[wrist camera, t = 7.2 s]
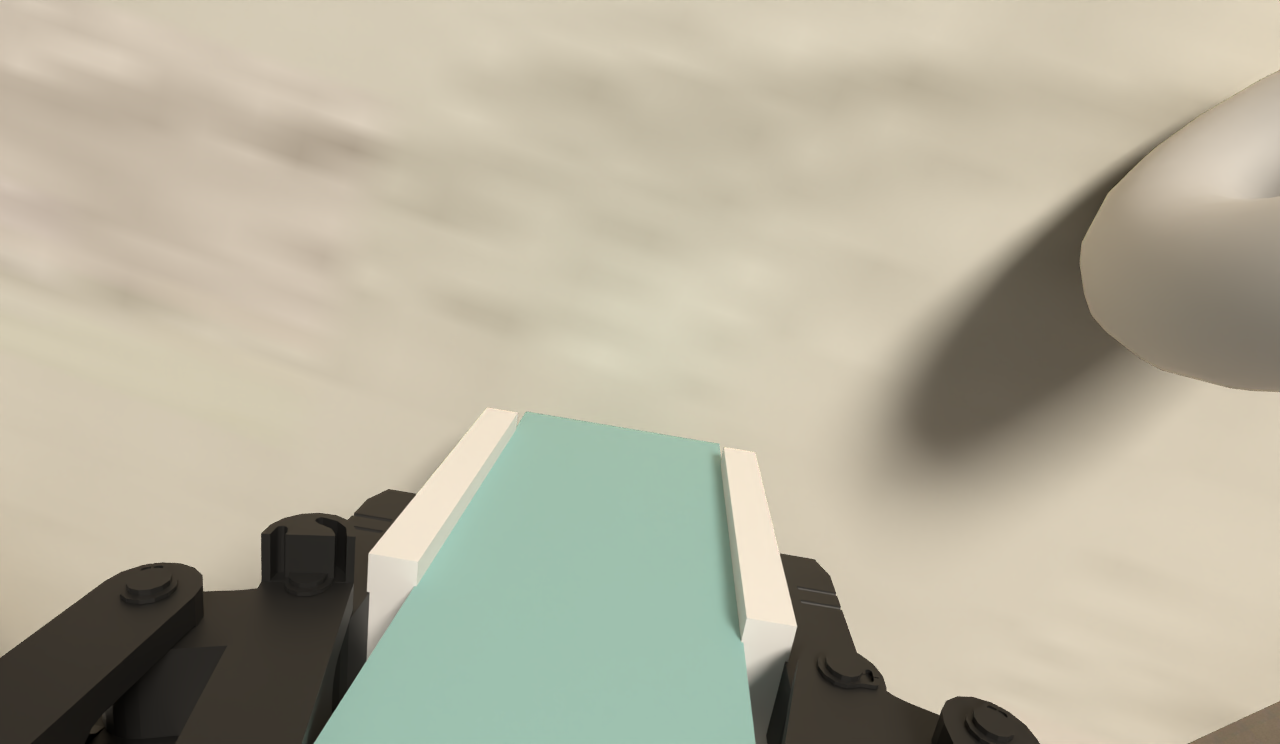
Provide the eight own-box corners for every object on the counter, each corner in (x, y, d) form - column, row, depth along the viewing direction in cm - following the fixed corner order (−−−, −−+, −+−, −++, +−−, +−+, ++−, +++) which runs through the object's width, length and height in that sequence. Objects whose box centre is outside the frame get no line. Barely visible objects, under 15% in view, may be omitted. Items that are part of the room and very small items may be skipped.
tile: (525, 411, 18) (299, 765, 7) (719, 443, 18) (768, 849, 7) (518, 482, 18) (297, 903, 8) (705, 513, 18) (731, 980, 8)
